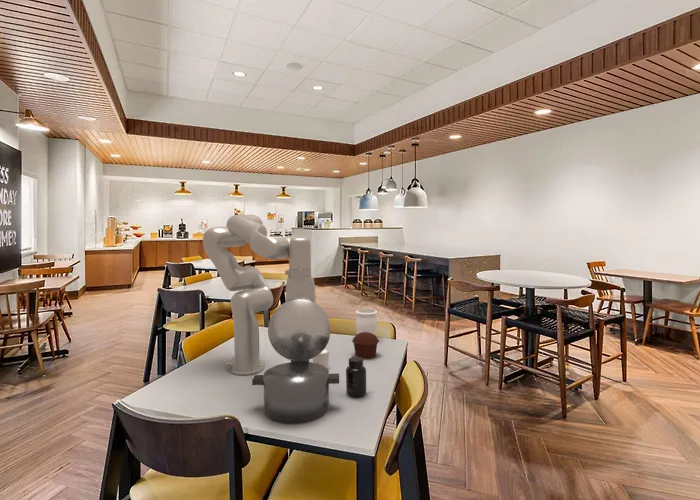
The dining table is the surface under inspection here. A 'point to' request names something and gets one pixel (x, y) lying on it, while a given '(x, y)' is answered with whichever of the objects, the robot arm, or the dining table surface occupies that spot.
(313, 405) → the cooker pot
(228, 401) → the dining table surface
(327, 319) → the cooker lid
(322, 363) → the white cylinder
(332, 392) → the dining table surface
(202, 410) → the dining table surface
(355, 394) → the supplement bottle
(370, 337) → the muffin
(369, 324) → the jar
